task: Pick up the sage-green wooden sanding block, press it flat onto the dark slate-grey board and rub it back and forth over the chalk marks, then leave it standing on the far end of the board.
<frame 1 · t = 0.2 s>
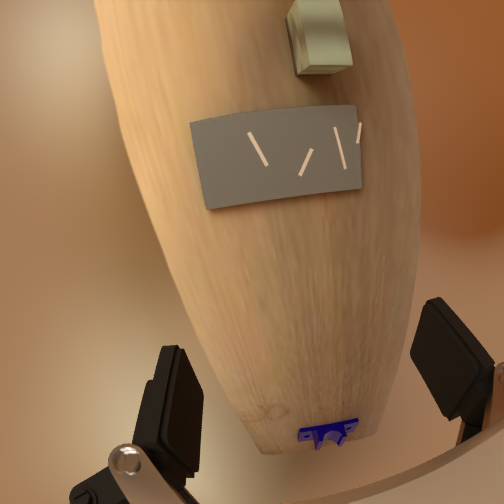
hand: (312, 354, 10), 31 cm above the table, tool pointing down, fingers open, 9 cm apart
sanding block: (308, 46, 29), on the table
board: (280, 152, 36), on the table
mounting bracket: (327, 427, 70), on the table
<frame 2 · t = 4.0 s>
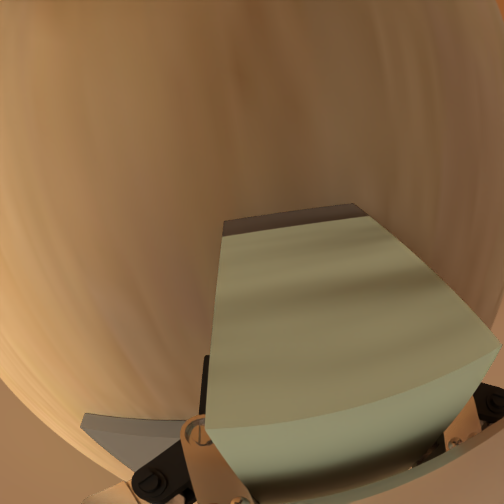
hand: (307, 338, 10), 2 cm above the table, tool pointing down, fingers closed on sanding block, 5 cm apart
sanding block: (298, 307, 12), on the table, touching gripper
board: (231, 450, 19), on the table
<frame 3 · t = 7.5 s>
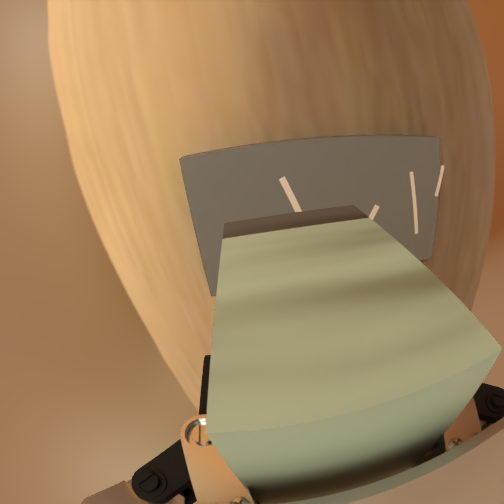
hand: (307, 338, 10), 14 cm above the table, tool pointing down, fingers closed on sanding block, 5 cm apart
sanding block: (298, 309, 12), point 12 cm above the table, touching gripper
board: (327, 207, 23), on the table
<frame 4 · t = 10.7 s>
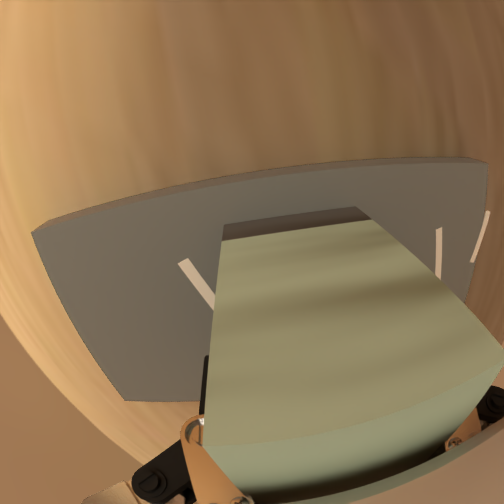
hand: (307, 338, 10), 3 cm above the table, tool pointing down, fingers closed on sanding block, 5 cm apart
sanding block: (299, 312, 12), point 2 cm above the table, touching gripper
board: (283, 294, 13), on the table
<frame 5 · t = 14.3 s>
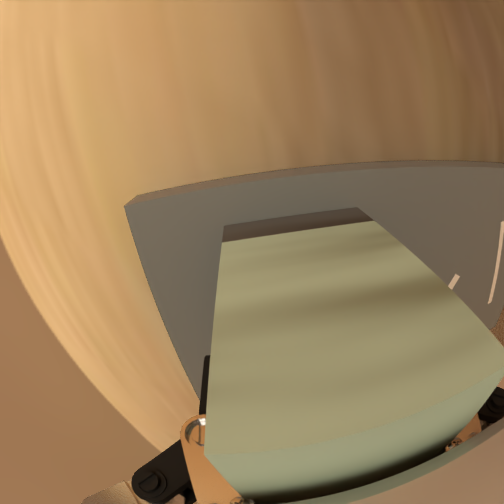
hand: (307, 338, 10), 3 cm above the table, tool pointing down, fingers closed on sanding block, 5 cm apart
sanding block: (300, 313, 12), point 2 cm above the table, touching gripper
board: (385, 278, 13), on the table
when the fingers open (4 cm above the table, at t = 17.5 s): sanding block drops 1 cm, resting on board.
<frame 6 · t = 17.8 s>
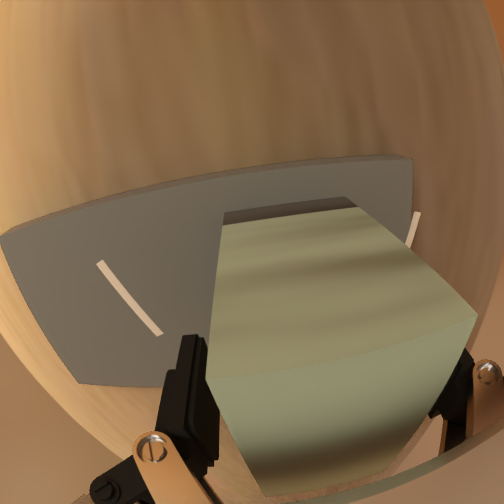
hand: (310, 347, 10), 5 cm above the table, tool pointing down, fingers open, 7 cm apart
sanding block: (294, 295, 13), point 2 cm above the table, touching board
board: (195, 293, 14), on the table
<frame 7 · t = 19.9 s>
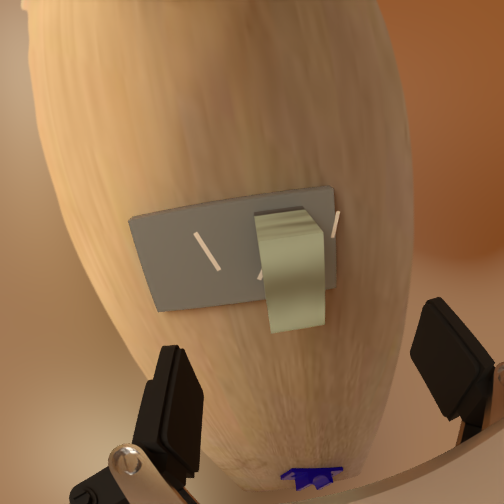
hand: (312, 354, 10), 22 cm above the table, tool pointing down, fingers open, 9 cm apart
sanding block: (282, 249, 30), point 2 cm above the table, touching board
board: (236, 250, 31), on the table
mounting bracket: (311, 470, 62), on the table
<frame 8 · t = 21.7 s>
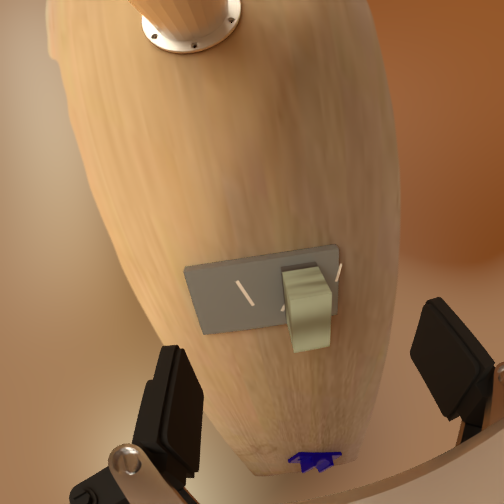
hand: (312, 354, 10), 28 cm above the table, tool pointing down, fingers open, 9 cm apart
sanding block: (299, 290, 41), point 2 cm above the table, touching board
board: (265, 290, 42), on the table
mounting bracket: (315, 455, 75), on the table
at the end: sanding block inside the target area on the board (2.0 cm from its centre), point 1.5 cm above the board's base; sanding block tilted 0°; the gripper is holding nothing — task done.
